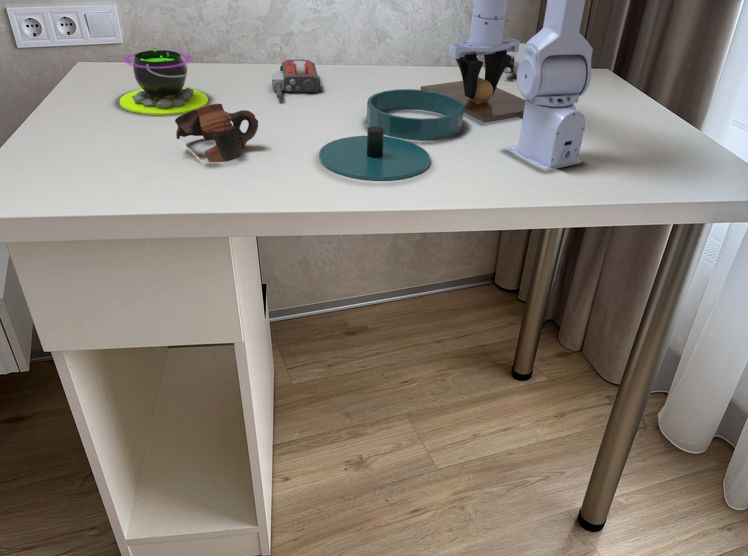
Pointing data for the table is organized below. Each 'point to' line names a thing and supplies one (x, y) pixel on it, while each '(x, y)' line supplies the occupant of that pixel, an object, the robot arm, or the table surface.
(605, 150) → the table surface
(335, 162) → the teal disc
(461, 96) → the board
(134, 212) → the table surface
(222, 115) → the broken mug
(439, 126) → the teal bowl
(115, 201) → the table surface
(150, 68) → the toy cauldron
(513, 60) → the robot toy
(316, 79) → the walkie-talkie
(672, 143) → the table surface
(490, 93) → the potato
